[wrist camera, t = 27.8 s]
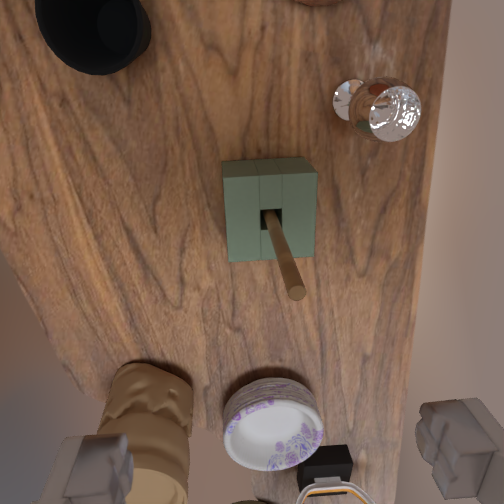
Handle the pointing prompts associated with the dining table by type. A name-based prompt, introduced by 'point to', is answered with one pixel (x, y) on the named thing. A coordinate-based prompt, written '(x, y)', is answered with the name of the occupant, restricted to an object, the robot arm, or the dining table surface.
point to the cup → (94, 32)
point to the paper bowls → (271, 424)
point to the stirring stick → (284, 257)
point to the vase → (249, 502)
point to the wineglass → (378, 108)
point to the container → (152, 431)
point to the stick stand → (269, 206)
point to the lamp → (328, 474)
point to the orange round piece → (318, 2)
